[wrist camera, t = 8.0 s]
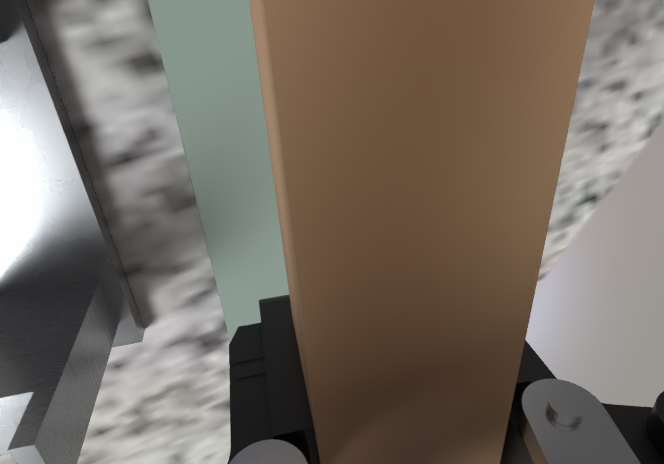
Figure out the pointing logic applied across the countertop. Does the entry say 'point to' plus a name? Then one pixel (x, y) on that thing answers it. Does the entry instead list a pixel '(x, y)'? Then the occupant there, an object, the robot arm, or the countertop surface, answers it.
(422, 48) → the rail
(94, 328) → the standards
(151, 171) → the countertop surface
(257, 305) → the mat
